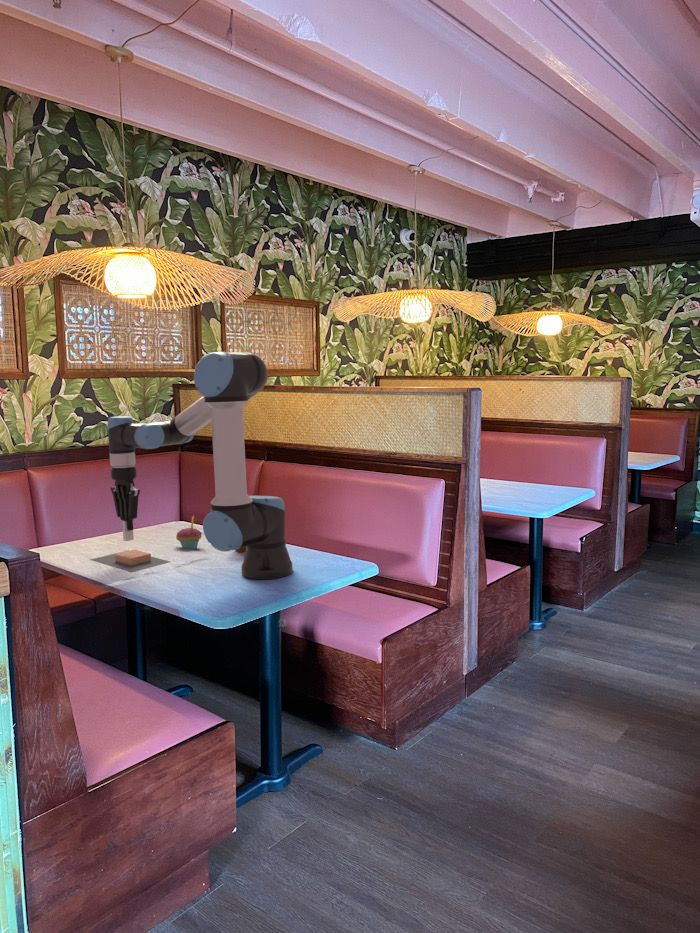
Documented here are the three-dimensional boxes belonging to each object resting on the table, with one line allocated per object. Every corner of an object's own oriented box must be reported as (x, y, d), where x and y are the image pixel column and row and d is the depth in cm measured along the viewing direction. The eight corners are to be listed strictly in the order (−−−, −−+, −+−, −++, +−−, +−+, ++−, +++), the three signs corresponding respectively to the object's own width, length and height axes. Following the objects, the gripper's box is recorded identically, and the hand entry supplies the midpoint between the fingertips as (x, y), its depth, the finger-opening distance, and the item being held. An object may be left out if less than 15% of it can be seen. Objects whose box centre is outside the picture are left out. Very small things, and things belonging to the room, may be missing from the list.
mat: (171, 564, 216) (171, 561, 216) (131, 575, 205) (131, 572, 205) (128, 553, 231) (128, 550, 231) (89, 562, 220) (89, 559, 220)
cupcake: (204, 545, 240) (203, 511, 238) (199, 551, 231) (197, 516, 230) (180, 545, 240) (178, 511, 238) (173, 552, 231) (171, 517, 230)
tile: (135, 556, 222) (151, 561, 216) (115, 561, 217) (131, 566, 211) (134, 549, 222) (150, 553, 216) (114, 554, 217) (130, 558, 211)
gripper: (145, 466, 213) (150, 540, 216) (122, 463, 221) (127, 535, 224) (124, 469, 207) (129, 545, 210) (101, 466, 215) (106, 539, 218)
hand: (128, 540), depth 217 cm, fingers closed
